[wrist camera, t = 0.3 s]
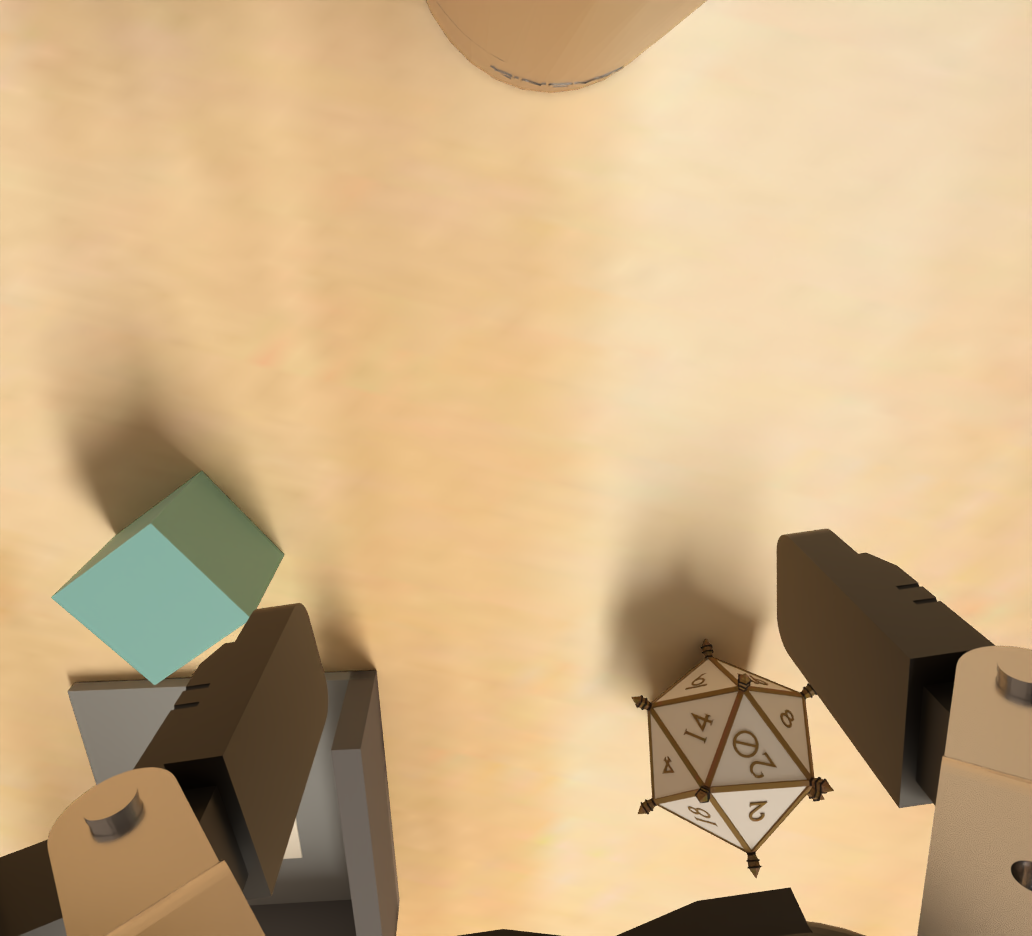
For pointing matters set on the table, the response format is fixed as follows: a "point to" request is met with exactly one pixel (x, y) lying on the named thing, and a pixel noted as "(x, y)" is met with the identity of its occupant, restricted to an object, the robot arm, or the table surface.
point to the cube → (174, 580)
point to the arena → (322, 812)
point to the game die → (730, 753)
